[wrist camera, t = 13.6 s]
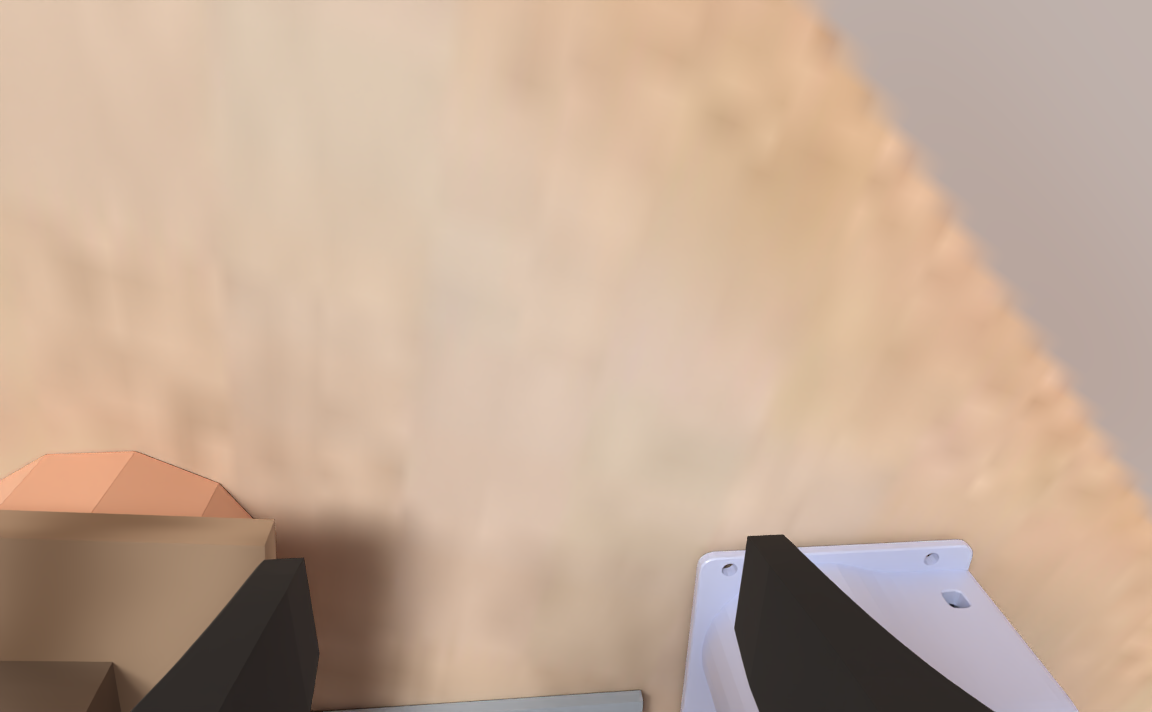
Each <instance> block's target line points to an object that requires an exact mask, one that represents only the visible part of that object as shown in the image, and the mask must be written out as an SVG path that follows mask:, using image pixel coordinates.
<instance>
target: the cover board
mask: <svg viewBox="0 0 1152 712" xmlns="http://www.w3.org/2000/svg"><path fill="white" fill-rule="evenodd" d="M269 559H276V539H275V519H247V518H219V517H190V516H162V515H133V514H105V513H76V512H48V511H19V510H0V712H130V711H131V710H132V709H133V708H134V707H135V706H136V705H137V704H138V703H139V702H140V701H141V699H142V698H143V697H144V696H145V695H146V694H147V693H148V692H149V691H150V690H151V689H152V688H153V687H154V686H155V685H156V684H157V683H158V682H159V681H160V680H161V679H162V678H163V677H164V676H165V675H166V673H167V672H168V671H169V670H170V669H171V668H172V667H173V666H174V665H175V664H176V663H177V661H178V660H179V659H180V658H181V657H182V656H183V655H184V653H185V652H186V651H187V650H188V649H189V648H190V647H191V645H192V644H193V643H194V642H195V641H196V640H197V639H198V638H199V636H200V635H201V634H202V633H203V632H204V631H205V630H206V628H207V627H208V626H209V625H210V624H211V622H212V621H213V620H214V619H215V618H216V616H217V615H218V614H219V613H220V612H221V610H222V609H223V608H224V607H225V606H226V604H227V603H228V602H229V601H230V600H231V598H232V597H233V596H234V595H235V593H236V592H237V591H238V590H239V588H240V587H241V586H242V585H243V584H244V582H245V581H246V580H247V579H248V577H249V576H250V575H251V574H252V572H253V571H254V570H255V569H256V567H257V566H258V565H259V564H260V563H261V562H262V561H263V560H269Z"/></svg>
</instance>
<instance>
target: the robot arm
mask: <svg viewBox="0 0 1152 712" xmlns="http://www.w3.org/2000/svg"><path fill="white" fill-rule="evenodd" d="M931 553H932V554H931ZM929 554H931V555H929ZM927 555H929V556H928V557H926V556H927ZM972 556H973V551H972V549H971V548H970V546H969V545H968V544H967V543H966V542H965V541H963V540H958V539H956V540H936V541H916V542H896V543H876V544H856V545H836V546H817V547H796V546H795V545H794V544H793V543H792V542H791V541H790V540H788V539H787V538H786V537H785V536H784V535H763V536H748V537H747V544H746V550H737V551H717V552H710V553H707V554H705V555H703V556H702V557H701V558H700V559H699V561H698V564H697V572H696V580H695V589H694V598H693V606H692V615H691V624H690V632H689V641H688V650H687V659H686V667H685V676H684V685H683V693H682V702H681V711H680V712H1079V711H1078V709H1077V708H1076V706H1075V705H1074V704H1073V702H1072V701H1071V699H1070V698H1069V697H1068V695H1067V694H1066V693H1065V691H1064V690H1063V689H1062V688H1061V686H1060V685H1059V684H1058V683H1057V681H1056V680H1055V679H1054V678H1053V676H1052V675H1051V674H1050V673H1049V671H1048V670H1047V669H1046V668H1045V666H1044V665H1043V664H1042V662H1041V661H1040V660H1039V659H1038V657H1037V656H1036V655H1035V654H1034V652H1033V651H1032V650H1031V649H1030V647H1029V646H1028V645H1027V644H1026V642H1025V641H1024V640H1023V639H1022V637H1021V636H1020V635H1019V634H1018V632H1017V631H1016V630H1015V629H1014V627H1013V626H1012V625H1011V624H1010V622H1009V621H1008V620H1007V618H1006V617H1005V616H1004V615H1003V613H1002V612H1001V611H1000V610H999V608H998V607H997V606H996V605H995V603H994V602H993V601H992V600H991V598H990V597H989V596H988V595H987V593H986V592H985V591H984V590H983V588H982V587H981V586H980V585H979V583H978V582H977V581H976V579H975V578H974V577H973V576H972V574H971V573H970V572H969V571H968V569H969V566H970V563H971V559H972ZM727 564H733V565H732V566H730V567H728V568H723V567H724V566H725V565H727ZM318 659H319V648H318V642H317V636H316V630H315V623H314V617H313V611H312V605H311V599H310V593H309V586H308V580H307V574H306V568H305V562H304V558H290V559H269V560H263V561H262V562H261V563H260V564H259V565H258V566H257V567H256V569H255V570H254V571H253V572H252V574H251V575H250V576H249V577H248V579H247V580H246V581H245V582H244V584H243V585H242V586H241V587H240V588H239V590H238V591H237V592H236V593H235V595H234V596H233V597H232V598H231V600H230V601H229V602H228V603H227V604H226V606H225V607H224V608H223V609H222V610H221V612H220V613H219V614H218V615H217V616H216V618H215V619H214V620H213V621H212V622H211V624H210V625H209V626H208V627H207V628H206V630H205V631H204V632H203V633H202V634H201V635H200V636H199V638H198V639H197V640H196V641H195V642H194V643H193V644H192V645H191V647H190V648H189V649H188V650H187V651H186V652H185V653H184V655H183V656H182V657H181V658H180V659H179V660H178V661H177V663H176V664H175V665H174V666H173V667H172V668H171V669H170V670H169V671H168V672H167V673H166V675H165V676H164V677H163V678H162V679H161V680H160V681H159V682H158V683H157V684H156V685H155V686H154V687H153V688H152V689H151V690H150V691H149V692H148V693H147V694H146V695H145V696H144V697H143V698H142V699H141V701H140V702H139V703H138V704H137V705H136V706H135V707H134V708H133V709H132V710H131V711H130V712H310V710H311V704H312V698H313V692H314V686H315V679H316V673H317V666H318Z"/></svg>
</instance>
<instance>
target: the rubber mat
mask: <svg viewBox="0 0 1152 712" xmlns="http://www.w3.org/2000/svg"><path fill="white" fill-rule="evenodd" d="M642 710H643V698H642V693H641V690H635V691H620V692H606V693H591V694H576V695H561V696H547V697H532V698H517V699H502V700H488V701H473V702H458V703H443V704H429V705H414V706H399V707H384V708H369V709H355V710H340V711H325V712H642Z"/></svg>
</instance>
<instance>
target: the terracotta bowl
mask: <svg viewBox="0 0 1152 712" xmlns="http://www.w3.org/2000/svg"><path fill="white" fill-rule="evenodd" d="M0 510H19V511H48V512H76V513H105V514H133V515H162V516H190V517H219V518H247V519H253V518H252V517H251V516H250V515H249V514H248V513H247V512H246V511H245V510H244V509H243V508H242V507H241V506H240V505H239V504H238V503H237V502H236V501H235V500H234V499H233V498H232V497H231V495H230V494H229V493H228V492H227V491H226V490H225V489H224V488H223V487H222V486H221V485H220V484H218V483H217V482H214V481H211V480H209V479H206V478H204V477H201V476H198V475H196V474H193V473H191V472H188V471H185V470H183V469H180V468H177V467H175V466H172V465H170V464H167V463H164V462H162V461H159V460H157V459H154V458H151V457H149V456H146V455H144V454H141V453H138V452H135V451H132V452H103V453H74V454H46V455H44V456H42V457H41V458H39V459H37V460H35V461H34V462H32V463H30V464H28V465H27V466H25V467H23V468H22V469H20V470H18V471H16V472H15V473H13V474H11V475H9V476H8V477H6V478H4V479H3V480H1V481H0Z"/></svg>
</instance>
